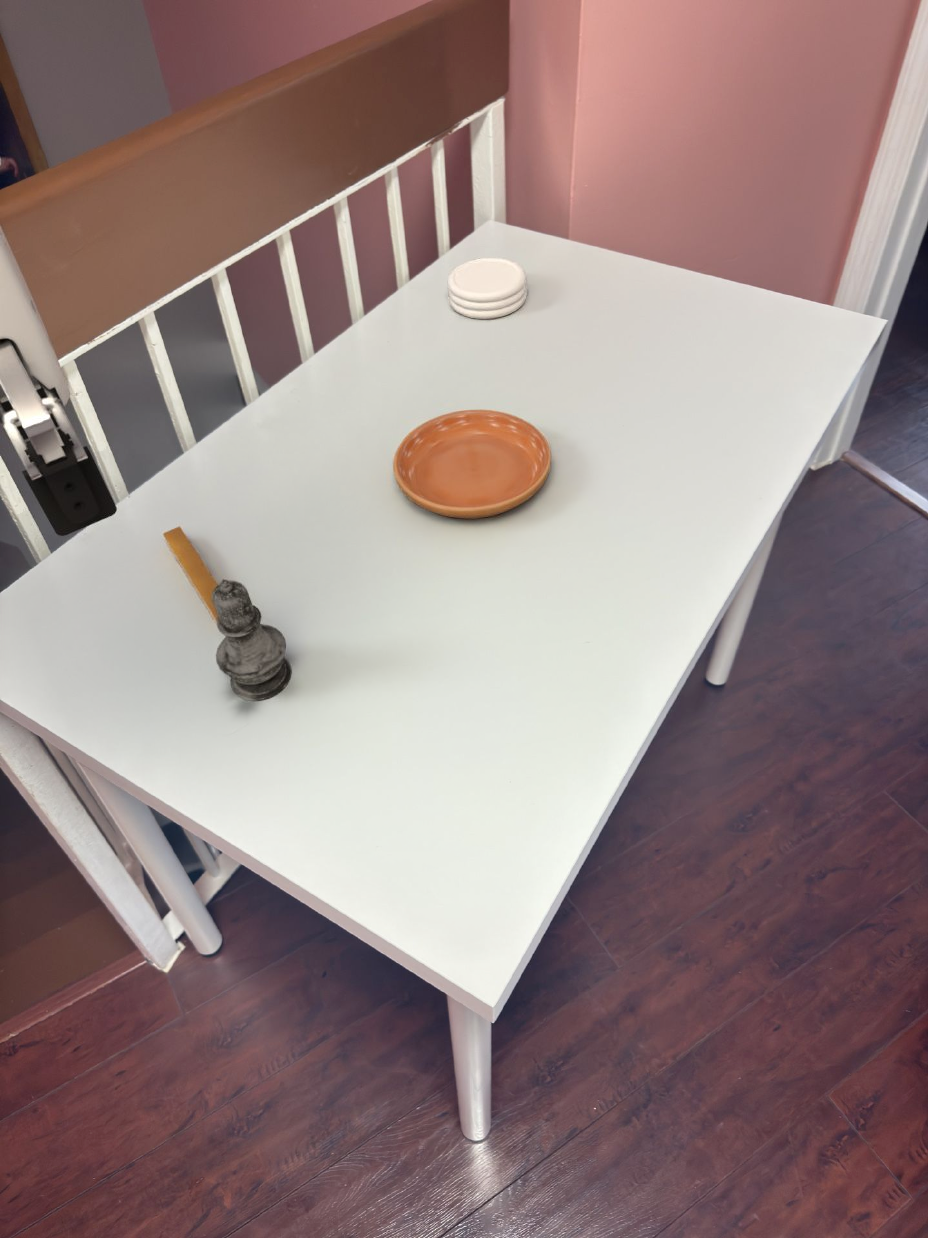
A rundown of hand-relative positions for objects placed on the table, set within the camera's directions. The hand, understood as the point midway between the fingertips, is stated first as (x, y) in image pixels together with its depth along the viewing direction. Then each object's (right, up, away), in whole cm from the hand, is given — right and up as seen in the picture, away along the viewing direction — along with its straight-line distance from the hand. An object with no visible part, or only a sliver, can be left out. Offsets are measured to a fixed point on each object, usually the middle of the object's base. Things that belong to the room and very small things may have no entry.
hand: (61, 474), depth 50 cm
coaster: (+25, +33, +68) cm, 80 cm away
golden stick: (-3, -4, +37) cm, 38 cm away
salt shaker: (+4, -13, +29) cm, 32 cm away
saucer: (+23, +6, +44) cm, 50 cm away
